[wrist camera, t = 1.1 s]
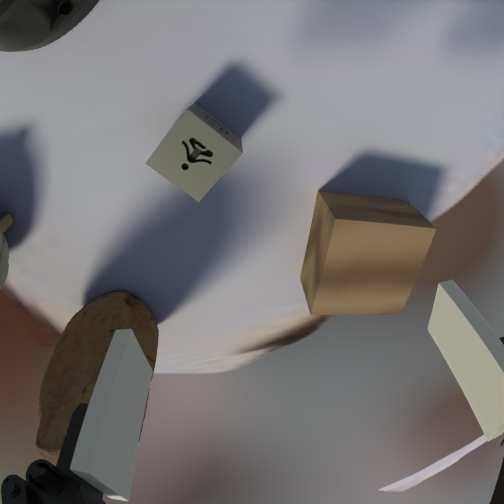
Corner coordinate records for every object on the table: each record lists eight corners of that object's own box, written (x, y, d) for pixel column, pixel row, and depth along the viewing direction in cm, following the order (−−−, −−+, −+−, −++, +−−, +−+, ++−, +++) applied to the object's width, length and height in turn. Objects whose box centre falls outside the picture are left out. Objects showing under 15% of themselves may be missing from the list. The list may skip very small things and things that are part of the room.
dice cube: (240, 137, 26) (242, 152, 22) (203, 179, 28) (198, 202, 24) (195, 101, 24) (187, 109, 20) (159, 146, 26) (145, 163, 22)
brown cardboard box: (317, 189, 29) (335, 218, 24) (407, 200, 30) (436, 228, 25) (299, 276, 35) (310, 314, 30) (381, 278, 36) (400, 313, 31)
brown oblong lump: (139, 281, 34) (91, 454, 17) (168, 328, 38) (145, 486, 21) (68, 301, 35) (8, 442, 18) (98, 341, 39) (60, 476, 22)
